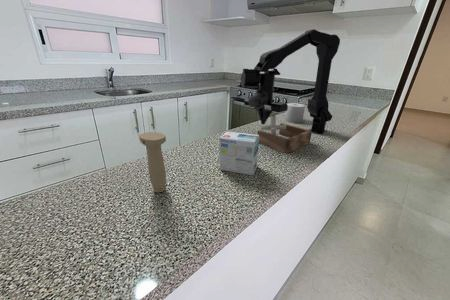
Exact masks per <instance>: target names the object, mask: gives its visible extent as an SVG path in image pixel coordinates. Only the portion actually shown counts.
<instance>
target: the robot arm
mask: <svg viewBox="0 0 450 300" xmlns="http://www.w3.org/2000/svg"><path fill="white" fill-rule="evenodd" d="M340 44H341V38H340V37H339V35H338V34H334V33H333V34H329V33H326V32H322V31H320V30H317V29H309V30H305V32H304V33H302V34H300V35H299V36H297V37H295V38H294V39H292V40H291V41H288V42H287V43H285V44H284V45H282V46H280V47H278V48H275V49H272V50H269V51H266V52H264V53H262V54H260V56H259V59H258V60H259V61H258V62H257V64H256V65H255V67H253V68H250V69H249V68H242V72H241V76H240V86H241V87H242V88H257V87H258V89H256V93H255V94H253V95H252V96H250V97H245V99H244V101H243V102H244V103H243V104H244V106H246V107H247V106H248V107H249V108H253V110H255V111H257V113H258V116H259V120H260V123H261V125H262V126H265V124H266V122H267V120H269V117H270V116H271V115H272V113H273V112H274V113H284V112H286V111H287V110H288V105H287V104H288V103H285V102H280V101H279V102H278V101H277V102H275V99H274V98H273V96H274V93H276V89H275V88H274V87H275V78H276V76H280V75H281V72H279V71H278V68H277V67H278V66H279V65H280V64H282V63H283V62H284V60H285V59H286V58H287V57H289V56H290V55H292V54H294V53H295V52H297V51H299V50H301V49H302V48H304V47H305V46H307V45H311V46H314V47H315V48H316V50H315V51H316V56H317V59H318V63H317V71H316V76H315V77H316V78H315V83H314V85H315V86H314V93H313V96H312V97H311V98H308V99H307V105H306V109H307V112H308V113H309V117H312V123H311V128H310V129H308V130H311V131H312V133H315V134H318V135H323V134H325V133H327V132H328V130H327V129H326V125H327V122H330V121H331V120H332V119H333V115H332V114H331V112H330V111H329V100H328V98H327V92H328V86H329V82H330V81H329V80H330V75H331V68H332V62H333V59H334V57H335V56H336V54H337V53H338V51H339V47H340Z"/></svg>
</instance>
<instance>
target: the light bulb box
mask: <svg viewBox="0 0 450 300" xmlns="http://www.w3.org/2000/svg"><path fill="white" fill-rule="evenodd" d="M259 144H260V143H259V135H257V134H255V133H254V134H253V133H243V132H234V131H226V132H224V134H221V136H220V137H219V170H220V171H226V172H230V173H237V174H243V175H249V176H254V174H255V171H256V170H257V168H258V159H259V146H260V145H259Z"/></svg>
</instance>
